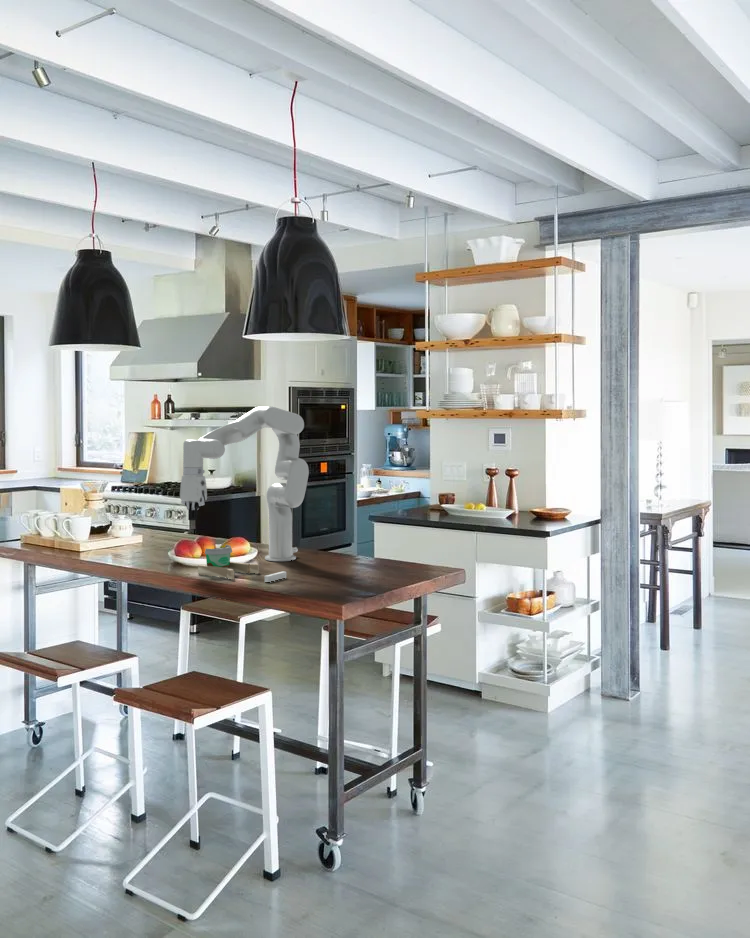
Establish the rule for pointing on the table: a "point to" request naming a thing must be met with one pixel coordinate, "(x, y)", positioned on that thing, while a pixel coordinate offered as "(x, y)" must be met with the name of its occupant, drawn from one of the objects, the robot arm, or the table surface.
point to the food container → (218, 556)
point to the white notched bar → (275, 576)
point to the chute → (228, 569)
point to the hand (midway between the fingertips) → (192, 519)
